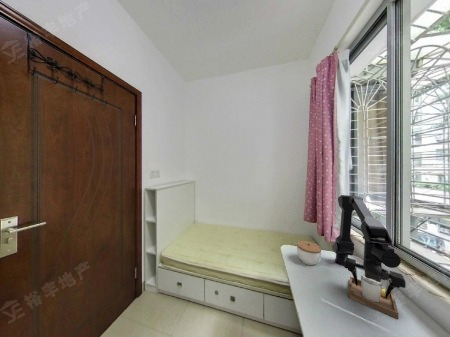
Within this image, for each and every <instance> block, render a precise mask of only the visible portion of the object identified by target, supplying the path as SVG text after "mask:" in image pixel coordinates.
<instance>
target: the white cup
mask: <svg viewBox="0 0 450 337" xmlns="http://www.w3.org/2000/svg"><path fill="white" fill-rule="evenodd" d="M360 280H361V287H362V295H363V296H364V297H365V298H367V299H368V300H371V301H373V302H379V301H380V296H381V290H382V288H383V283H382V281H381V282H377V281H375V280H372V279H368V278H366V277H365V274H362V275H360Z"/></svg>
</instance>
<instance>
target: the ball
mask: <svg viewBox="0 0 450 337" xmlns="http://www.w3.org/2000/svg"><path fill="white" fill-rule="evenodd" d="M385 291H386V288H384V289H382V290H381V295H382V296H383V297H385ZM388 297H389V295H388Z"/></svg>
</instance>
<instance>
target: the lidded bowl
mask: <svg viewBox="0 0 450 337" xmlns="http://www.w3.org/2000/svg"><path fill="white" fill-rule="evenodd" d="M296 252H297V256H298V258H299V259H300V260H301V262H302V263H304V264H305V265H309V266H314V265H315V264H317V263H318V262H319V261H320V259H321V255H322V248H321V246H320V245H318V244H316V243H314V242H311V241H305V240H303V241H302V240H300V241H297V242H296Z"/></svg>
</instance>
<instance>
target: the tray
mask: <svg viewBox="0 0 450 337" xmlns="http://www.w3.org/2000/svg"><path fill="white" fill-rule="evenodd" d="M357 279H358V286H356V283H355V280H354V277H353V276H349V282H348V292H347V298H348V299H351V300H353V301H355V302H357V303H360V304H362V305H364V306H367V307H369V308H371V309H373V310H376V311H378V312H381V313H383V314H385V315H388V316H390V317H393V318H395V319H397V320H398V319H399V314H400V313H399V310H398V307H397V306H398V305H397V302H396V298H395V293H394V291H393V290H392V291H391V292H390V294H389V297H387V298H386V297H383V296H382V295H381V296H380V301H379V302H373V301H371V300H368V299H367V298H365V297H364V296H363V295H362V287H361V279H359V278H357ZM382 289H385V288H383V287H382Z"/></svg>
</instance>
